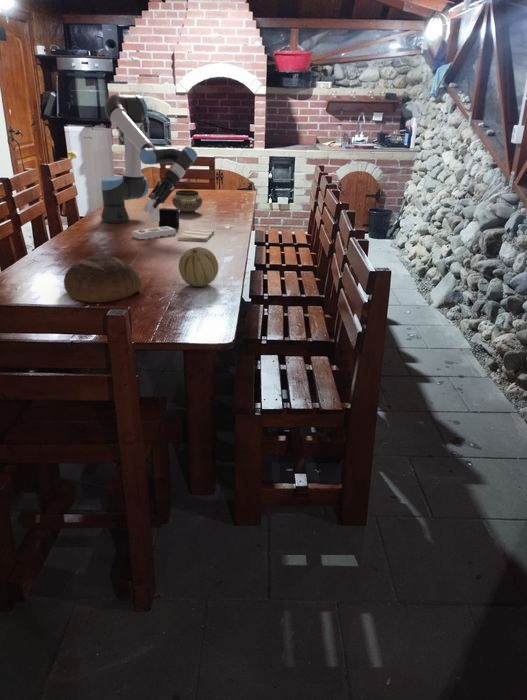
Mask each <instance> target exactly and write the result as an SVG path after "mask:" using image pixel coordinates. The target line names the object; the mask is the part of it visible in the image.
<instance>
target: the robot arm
mask: <svg viewBox="0 0 527 700" xmlns="http://www.w3.org/2000/svg"><path fill="white" fill-rule="evenodd" d="M104 111H105V115H106V118H107V119H108V120H109V121H110V123H111V124H113V125H116V127H117V128H118V129H119V130H120V131H121V132H122V134H123V136H124V140H123V141H124V142H123V143H124V165H125V166H124V168H125V169H124V170H125V171H124V172H122V176H120V175H117V176H115V175H114V176H108V177H105V178H103V179H102V180H101V183H100V185H101V195H102V206H103V207H102V212H101V219H100V221H101V222H102V223H104V224H123V223H124V224H125V223H128V222H129V221H130V216H129V213H128V211H127V208H126V203H125V201H129V200H130V201H131V200H139V199H142V198H144V197H146V196H147V195H148V193H149V187H150V186H149V182H148V179H147V178H146V177H145V175H144V173H143V172H142V164H144V165H159V164H169V163H171V165H170V166H169V168H168V169H167V171H166V172H165V173H164V175H163V176H164V179H163V180H162V181H159V180H158V181H157V183H156V185H155V186H154V188H153V189H152V190H151V191H150V193H149V195H148V199H149V198H150V194H155V198H156V199H155V200H154V202H153V203H152V204H151V206H150V207H149V208H148V201H147V202H146V203H145V204H144V205H143V207H142V209H141V210H143V211H144V212H145V213H147V214H148V212H149V213H150V214H152V213H153V211H154V210H155V209H156V208H157V206H158V205H159V206H160V204H164V203H165V202H166V200H167V199H168V198H169V197H170V196H171V194H172V193H173V192H174V191H176V187H175V186H177V185H178V184H179V182H180V181H181V179H183V177H184V176H185V174H186V173H187V172H188V170H189V169H190V168H191V166H192V165H193V164H194V162H195V161H196V159H197V158H198V153H197V151H195V149H194V148H192V147H191V146H188V145H187V146H185V147H184V148H183V149H180V148H179V147H176V146H173V145H169V144H165V145H164V146H160V147H156V146H155V145H154V144H153V143H152V141H150V139H149V138H148V137H147V136H146V135H145V133H143V131H142V130H141V126H142V125H143V123H144V119H146V118H147V116H148V111H149V110H148V105H147V102H146V100H145V99H144V98H143V96H141V95H139V94H131V93H130V94H126V93H125V94H112V95H110V96H108V98H107V99H106V100H105V104H104Z"/></svg>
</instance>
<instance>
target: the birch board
mask: <svg viewBox="0 0 527 700" xmlns="http://www.w3.org/2000/svg"><path fill="white" fill-rule="evenodd" d="M214 234H215V231H214V230H210V229H209V230H208V229H192V228H191V229H188V228H187V229H186V230H185V231H184V232H182V233H180V235H179V236H178V237H177V240H178V241H184V240H189V241H188V242H202V241H206V242H207V241H208V240H209V239H211V237H213V235H214Z"/></svg>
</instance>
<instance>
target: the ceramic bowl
mask: <svg viewBox="0 0 527 700" xmlns="http://www.w3.org/2000/svg"><path fill="white" fill-rule="evenodd" d="M171 202H172V204H173V206H174V207H175V209H178V210H179V214H181V213H182V214H181V215H193V214H195V213H196V211H197V210H198V209H200V208H201V206H202V205H203V198H202V196H201V195H200V194H199V191H198V190H194V189H178V190H175V194H173V196H172V198H171Z"/></svg>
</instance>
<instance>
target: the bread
mask: <svg viewBox="0 0 527 700" xmlns="http://www.w3.org/2000/svg"><path fill="white" fill-rule="evenodd" d="M63 287H64V289H65V292H66V293H67V295H68V296H69V297H70V298H71V299H73V300H75V301H76V300H77V301H79V302H84V303H107V302H114V301H118V300H123V299H126V298H128V297H131V296H133V295H134V294H136V293H137V292H138V291H139V290H140V289H141V287H142V280H141V277H140V275H139V274H138V272H136V271H135V269H134V268H133V267H132V266H131V265H130V264H128V263H126V261H124V260H122V259H120V258H118V257H115V256H114V257H113V256H109V255H105V254H99V255H93V256H88V257H86V258H83V259H79V260H78V261H77V262H75V263H74V264H72V265H71V266H70V267H69V268H68V269H67V271H66V273H65V275H64V277H63Z"/></svg>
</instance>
